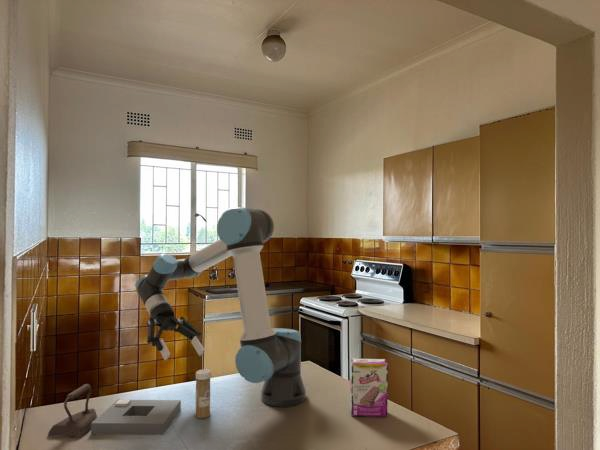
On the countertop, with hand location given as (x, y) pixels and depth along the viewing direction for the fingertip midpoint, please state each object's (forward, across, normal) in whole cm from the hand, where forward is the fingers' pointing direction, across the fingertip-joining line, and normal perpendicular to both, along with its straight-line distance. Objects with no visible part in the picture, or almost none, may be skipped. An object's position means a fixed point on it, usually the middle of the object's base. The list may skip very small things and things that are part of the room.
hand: (185, 355), depth 131 cm
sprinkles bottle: (+18, 0, -7) cm, 20 cm away
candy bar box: (+48, -33, +20) cm, 61 cm away
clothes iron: (+2, +25, -23) cm, 34 cm away
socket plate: (+10, +13, -15) cm, 22 cm away
